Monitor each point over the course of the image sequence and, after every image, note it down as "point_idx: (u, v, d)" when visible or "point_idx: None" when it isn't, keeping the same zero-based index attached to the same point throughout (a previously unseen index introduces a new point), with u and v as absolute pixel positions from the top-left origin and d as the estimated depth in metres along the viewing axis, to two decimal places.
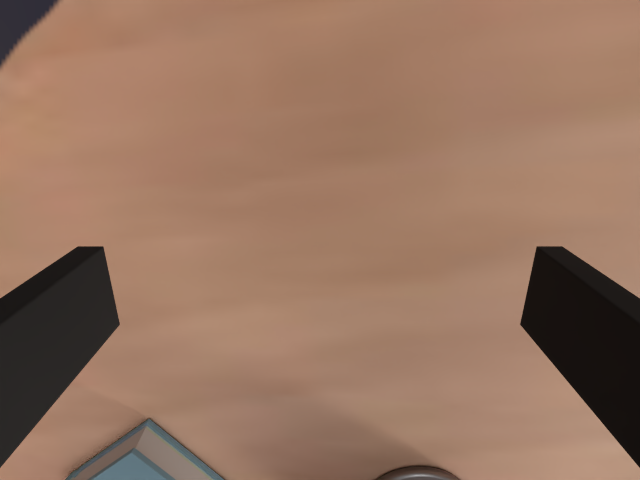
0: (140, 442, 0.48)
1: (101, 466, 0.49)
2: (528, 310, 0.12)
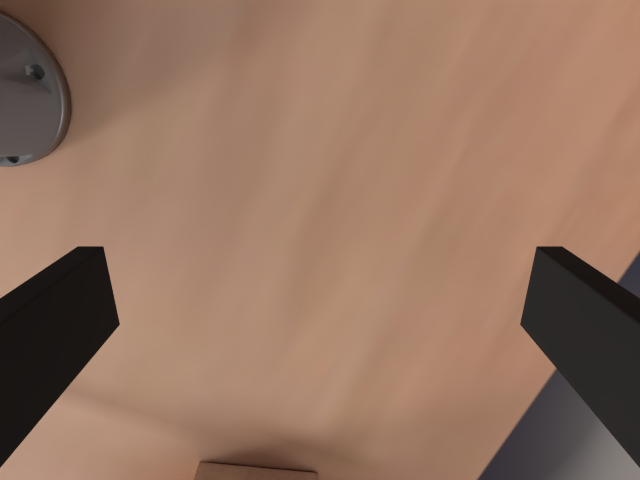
0: None
1: None
2: (528, 310, 0.12)
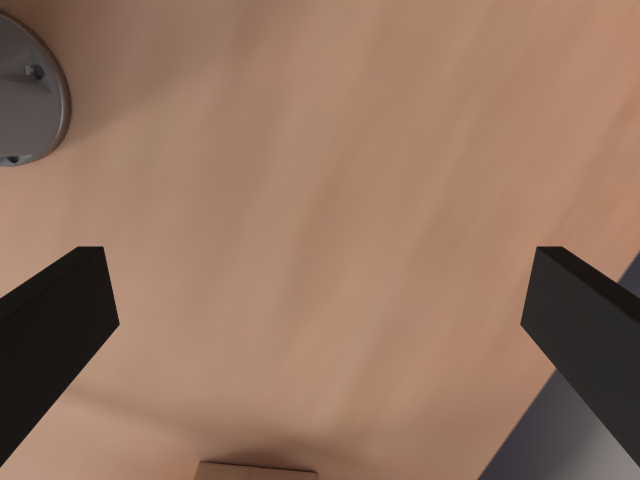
0: None
1: None
2: (528, 310, 0.12)
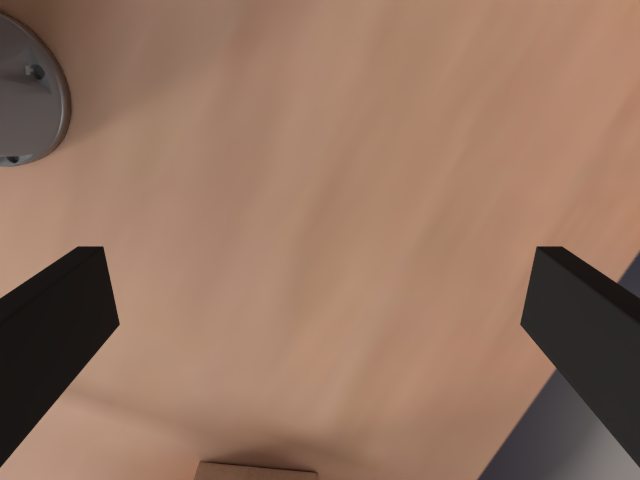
0: None
1: None
2: (528, 310, 0.12)
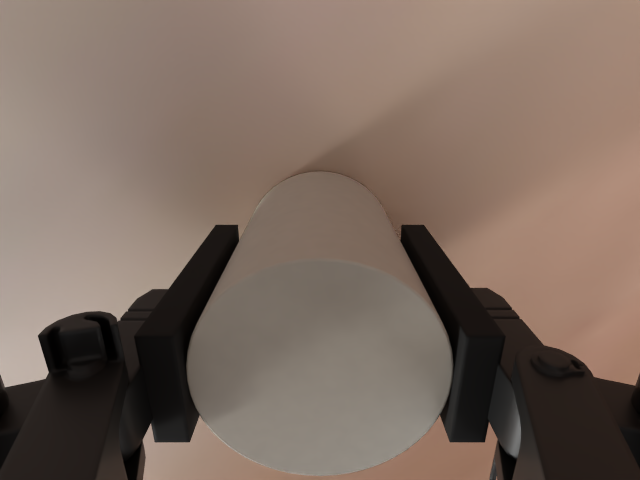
0: None
1: None
2: None
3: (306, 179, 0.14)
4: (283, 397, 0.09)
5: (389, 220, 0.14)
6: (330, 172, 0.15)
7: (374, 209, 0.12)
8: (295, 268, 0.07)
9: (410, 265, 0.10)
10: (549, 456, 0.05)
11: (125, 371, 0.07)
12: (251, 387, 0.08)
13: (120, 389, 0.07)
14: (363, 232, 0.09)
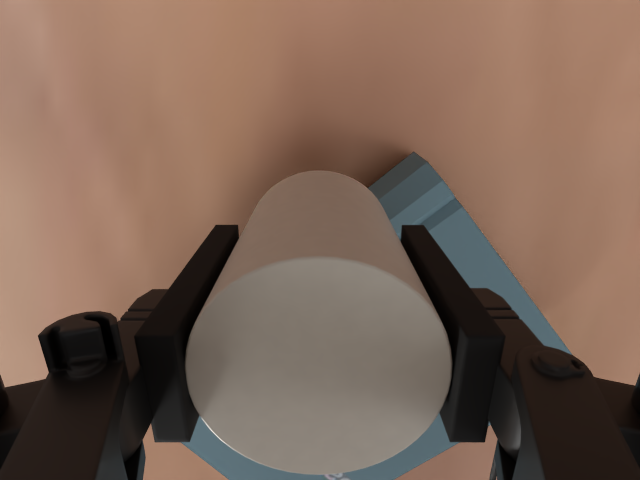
0: None
1: None
2: None
3: (305, 178, 0.14)
4: (282, 395, 0.09)
5: (388, 219, 0.14)
6: (329, 171, 0.15)
7: (373, 208, 0.12)
8: (293, 266, 0.07)
9: (409, 264, 0.10)
10: (549, 456, 0.05)
11: (125, 371, 0.07)
12: (249, 386, 0.08)
13: (120, 389, 0.07)
14: (362, 231, 0.09)
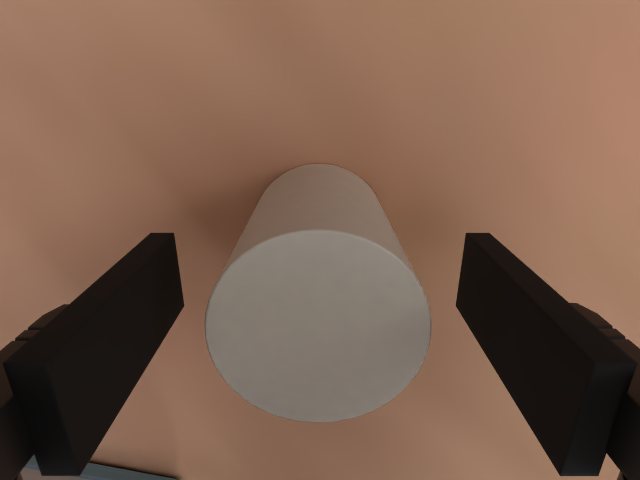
0: None
1: None
2: (461, 292, 0.13)
3: (306, 170, 0.15)
4: (287, 350, 0.10)
5: (381, 207, 0.15)
6: (328, 164, 0.16)
7: (367, 196, 0.14)
8: (297, 238, 0.09)
9: (396, 241, 0.11)
10: None
11: None
12: (259, 342, 0.10)
13: None
14: (355, 212, 0.11)
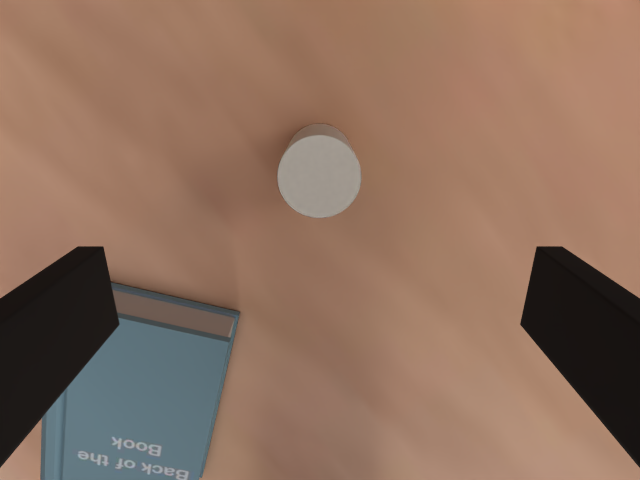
0: (229, 333, 0.37)
1: (155, 314, 0.36)
2: (528, 310, 0.12)
3: (313, 125, 0.32)
4: (307, 184, 0.27)
5: None
6: None
7: (341, 134, 0.30)
8: (312, 138, 0.26)
9: (350, 146, 0.28)
10: None
11: None
12: (297, 180, 0.27)
13: None
14: (333, 134, 0.28)
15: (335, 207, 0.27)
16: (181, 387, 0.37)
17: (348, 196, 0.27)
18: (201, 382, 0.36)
